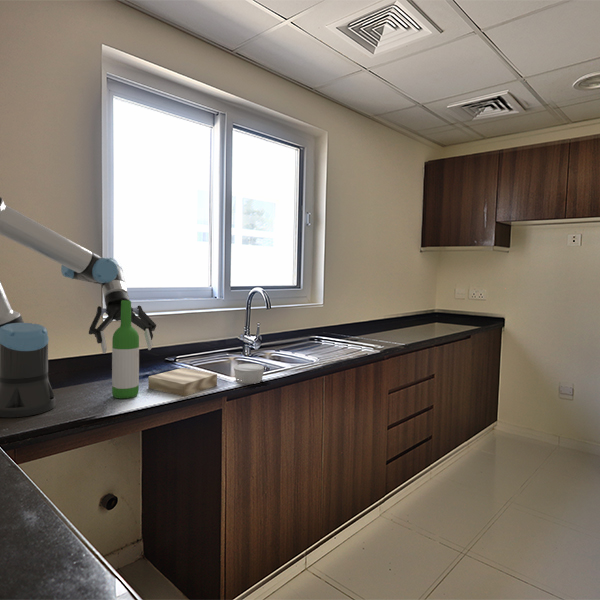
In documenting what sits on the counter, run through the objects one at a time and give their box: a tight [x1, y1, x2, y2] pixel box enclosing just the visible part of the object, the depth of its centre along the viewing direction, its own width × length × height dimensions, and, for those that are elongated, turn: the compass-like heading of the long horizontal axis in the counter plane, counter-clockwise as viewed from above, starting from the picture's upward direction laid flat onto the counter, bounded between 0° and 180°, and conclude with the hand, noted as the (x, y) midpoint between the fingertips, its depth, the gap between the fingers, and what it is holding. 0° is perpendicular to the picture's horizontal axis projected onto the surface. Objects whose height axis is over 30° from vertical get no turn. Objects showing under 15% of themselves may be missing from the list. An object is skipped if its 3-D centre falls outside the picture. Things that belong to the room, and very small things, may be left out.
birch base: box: [148, 367, 218, 397], centre depth 148 cm, size 16×16×4 cm
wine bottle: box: [111, 299, 140, 400], centre depth 135 cm, size 8×8×30 cm
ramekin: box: [233, 363, 265, 385], centre depth 160 cm, size 11×11×5 cm
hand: (128, 349), depth 135 cm, fingers open, 13 cm apart
